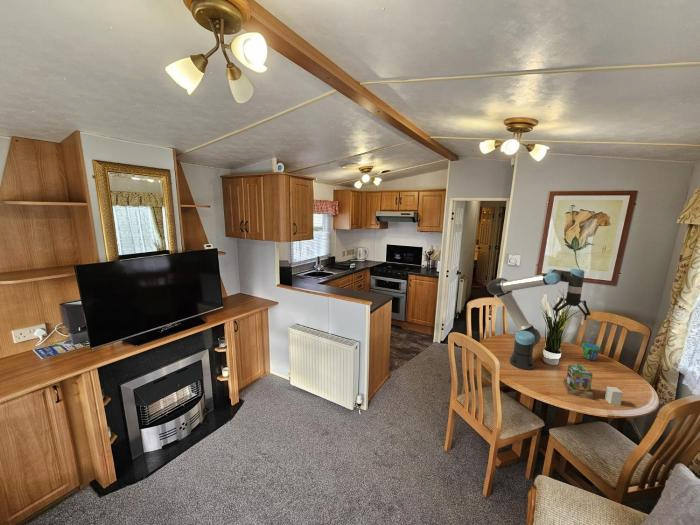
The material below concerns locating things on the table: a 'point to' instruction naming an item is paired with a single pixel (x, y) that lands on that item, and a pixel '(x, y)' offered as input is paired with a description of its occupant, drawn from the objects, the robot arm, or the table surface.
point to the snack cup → (590, 351)
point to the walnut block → (578, 391)
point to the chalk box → (579, 377)
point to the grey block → (613, 395)
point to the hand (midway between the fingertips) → (569, 322)
